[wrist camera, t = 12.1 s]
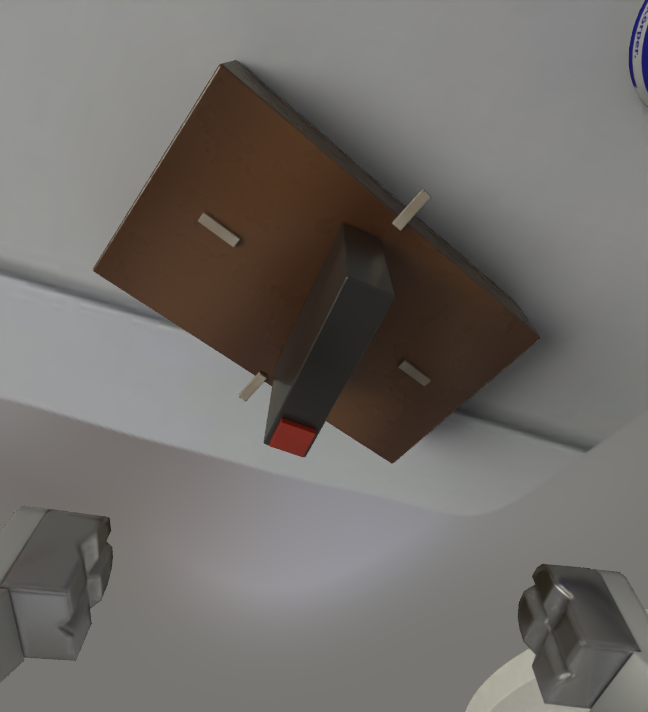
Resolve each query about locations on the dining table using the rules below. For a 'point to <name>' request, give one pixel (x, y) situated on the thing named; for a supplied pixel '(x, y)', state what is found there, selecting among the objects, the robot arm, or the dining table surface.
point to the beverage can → (640, 54)
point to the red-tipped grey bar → (328, 339)
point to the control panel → (306, 263)
